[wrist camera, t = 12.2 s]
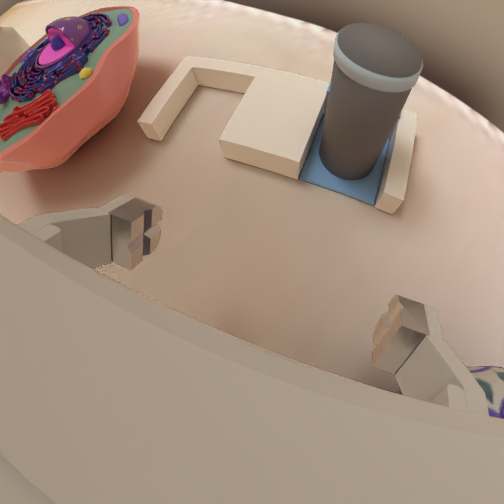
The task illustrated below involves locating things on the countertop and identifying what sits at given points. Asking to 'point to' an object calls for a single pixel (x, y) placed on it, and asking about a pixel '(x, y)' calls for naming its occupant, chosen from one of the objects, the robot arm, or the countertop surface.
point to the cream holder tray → (282, 126)
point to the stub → (365, 96)
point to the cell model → (66, 87)
